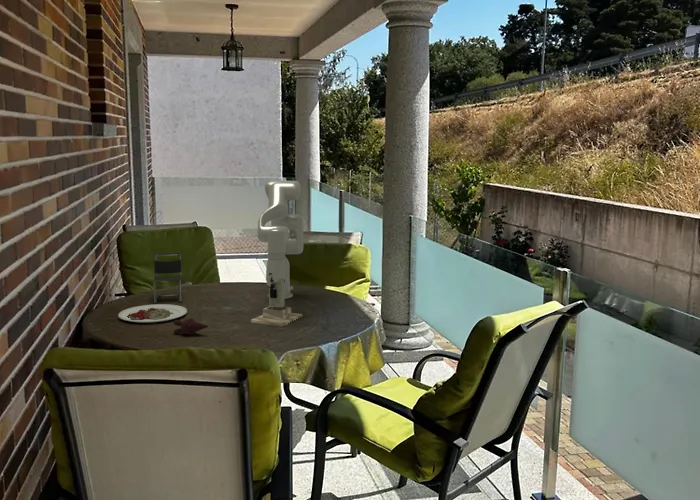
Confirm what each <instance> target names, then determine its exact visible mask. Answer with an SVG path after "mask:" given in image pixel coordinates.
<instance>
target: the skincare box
mask: <svg viewBox="0 0 700 500" xmlns="http://www.w3.org/2000/svg"><path fill="white" fill-rule="evenodd" d="M272 282H273V281H272ZM273 286H274V284H273ZM276 289H277V298H270V289H269V288H268V294H269V297H268V300H269V301H268V303H269V306H268V307H285V305H286V302H285V300H286V299H285V292H284V279H282V280H279V282H277V284H276Z"/></svg>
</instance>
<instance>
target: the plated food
mask: <svg viewBox="0 0 700 500" xmlns="http://www.w3.org/2000/svg"><path fill="white" fill-rule="evenodd" d="M148 309H149V310H148ZM144 310H145V311H144ZM187 313H188V309H187V308H186V307H185V306H181V305H176V304H169V303H168V304H166V303H164V304H163V303H161V304H160V303H158V304H157V303H154V304H144V305H138V306H133V307H129V308H126V309H123V310H121V311H120V312H119V313H118V315H117V316H118V318H119V319H120V320H123V321H126V322H127V321H128V322H134V323H140V324H141V323H143V324H151V323H163V322H168V321H171V320H174V319H175V320H176V319H177V318H181V317H183V316H184V315H187ZM129 314H130V316H129V318H128V317H127V316H128V315H129Z"/></svg>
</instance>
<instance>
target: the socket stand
mask: <svg viewBox="0 0 700 500" xmlns="http://www.w3.org/2000/svg"><path fill="white" fill-rule="evenodd" d="M303 315H304V314H302V313H294V312H292V306H283V307H269V306H266V307H265V308H262V314H261V315H258V316H256V317H255V318H251V319H250V323H251V324H252V323H253V324H260V325H267V326H274V327H281V328H283V327H285V326H288V325H289V324H291V323H293V322H295V321H297V320H299V319H301V318H303V317H302V316H303ZM300 317H301V318H300ZM298 318H299V319H298ZM296 319H297V320H296ZM294 320H295V321H294ZM292 321H293V322H292ZM290 322H291V323H290ZM288 323H289V324H288Z"/></svg>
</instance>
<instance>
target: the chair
mask: <svg viewBox="0 0 700 500" xmlns="http://www.w3.org/2000/svg"><path fill="white" fill-rule="evenodd" d="M181 255H182V254H181V253H179V252H178V253H156V254H154V255H153V258H154V259H153V260H154V263H153V264H154V278H153V283H152V287H153V302H154V304H157V303H158V299H159V298H160V297H159V296H161V297H176V296H177V297H178V302H179V303H181V302H182V299H183V294H182V286H181V281H182V258H181V257H182V256H181ZM167 256H169V257H170V256H171V257H172V256H173V257H175V256H178V260H172V261H162V260H161V261H158V260H157V257H167ZM158 274H178V275H176V276H175V275H174V276H158ZM157 281H159V282H166V281H167V282H169V281H170V282H171V281H177V282H178V287H177V288H178V293H164V294H163V293H161V294H157V290H156V288H157V287H156V285H157V284H156V282H157Z"/></svg>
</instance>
